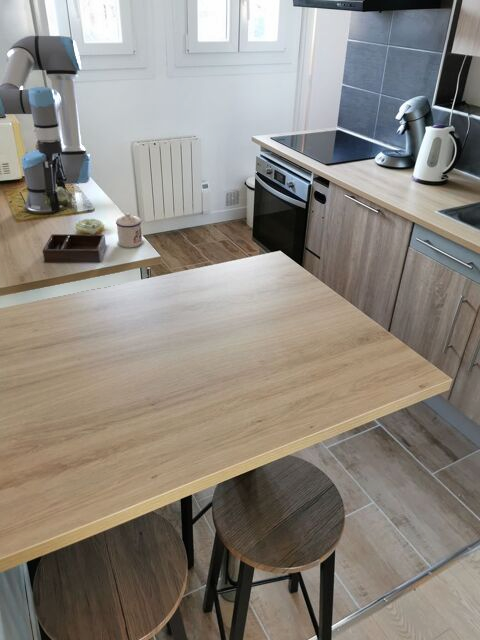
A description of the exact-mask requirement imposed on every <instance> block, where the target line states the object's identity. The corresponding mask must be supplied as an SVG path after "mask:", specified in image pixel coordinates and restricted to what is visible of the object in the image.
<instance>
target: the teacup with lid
mask: <svg viewBox="0 0 480 640" xmlns="http://www.w3.org/2000/svg"><path fill="white" fill-rule="evenodd" d="M115 224H116V228H117V238H118V245H119V246H121V247H122V248H137V247H139V246H141V245H142V243H143V235H142V219H141V218H140V217H139V216H137V215H132V214H131V213H130V212H126V213H125V214H124V215H122V216H120V217H118V218H117V219H116V220H115Z"/></svg>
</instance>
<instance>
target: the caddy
mask: <svg viewBox="0 0 480 640" xmlns="http://www.w3.org/2000/svg"><path fill="white" fill-rule="evenodd" d="M105 236H106V235H105V234H97V235H82V234H80V233H78V234H77V233H76V234H74V233H73V234H72V233H71V234H69V233H67V234H65V233H64V234H62V233H61V234H59V233H58V234H57V233H56V234H53V233H52V234H50V237H49V239H48V240H47V241H46V243H45V245H44V247H43V249H42V254H43V259H44V263H101V262H102V258H103V256H104V253H105V249H106V246H107V244H106V237H105Z"/></svg>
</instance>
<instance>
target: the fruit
mask: <svg viewBox="0 0 480 640" xmlns="http://www.w3.org/2000/svg"><path fill="white" fill-rule="evenodd" d="M45 191H46V190H45ZM56 192H57V194H58V200H59V205H60V206H64V208H67V209H71V210H72V209H73V205H72V204H73V203H72V201H73V194H72V192H69V191H67V190H66V191H65V189H63V187H57V186H56ZM43 194H44V193H43ZM44 195H46V204H47V205H49V206H51V204H50V199H49V193H46V194H44Z"/></svg>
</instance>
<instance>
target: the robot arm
mask: <svg viewBox="0 0 480 640" xmlns="http://www.w3.org/2000/svg"><path fill="white" fill-rule="evenodd" d="M6 63H7V64H6V67H5V70H4V72H3V76H2V78H1V81H0V115H4V116H5V115H31V116H32V121H33V126H34V128H33V132H35V138H36V140H37V141H36V143H37V145H38V150H32V151H29V152H27V153H25V154H23V155H22V157H21V169H22V172H23V177H24V181H25V185H26V191H27V193H26V199H25V209H26V212H28V213H29V214H34V215H50V214H55V213H58V212H60V211H61V210H63V209H64V208H65V207H64V206H60V205H59V200H58V194H57V192H56V187H63V189H65V191H66V192H67V187H66V185H72V184H74V185H79V184H88V183H89V181H90V178H91V173H92V172H91V170H92V160H91V154H90V153H87V149H86V148H85V147H84V146H83V145H82V137H81V128H80V121H79V120H80V119H79V111H78V102H77V93H76V85H75V80H76V79H77V78H78V76H79V74H78V73H79V72H80V71H81V70H82V65H81V59H80V54H79V51H78V47H77V44H76V41H75V40H74V38H72V37H71V36H63V35H28V36H24V37H22V38H20V39H19V40H17V41H16V42H15V43H13V45H11V46H10V48H9V50H8V51H7V54H6ZM33 71H45V75H46V77H47V78H48V79H49V80H50V83H51V87H48V86H35V87H31V88H29V89H27V88H26V87H27V83H28V81H29V76H30V74H32V73H33ZM45 190H46V191H45ZM43 193H44V194H46V193H49V199H50V204H51V206H49V205H47V204H46V195H44V194H43Z"/></svg>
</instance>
